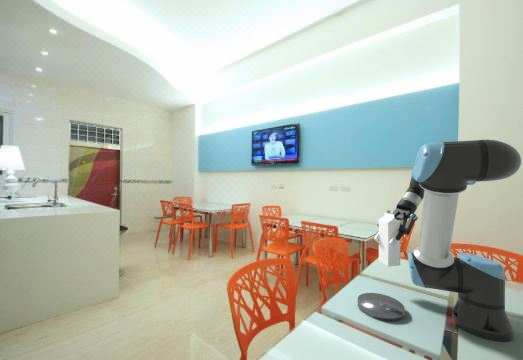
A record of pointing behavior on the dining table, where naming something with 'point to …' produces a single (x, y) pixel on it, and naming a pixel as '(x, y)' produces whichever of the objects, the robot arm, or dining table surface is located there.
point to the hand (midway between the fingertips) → (383, 242)
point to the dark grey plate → (381, 307)
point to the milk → (388, 240)
